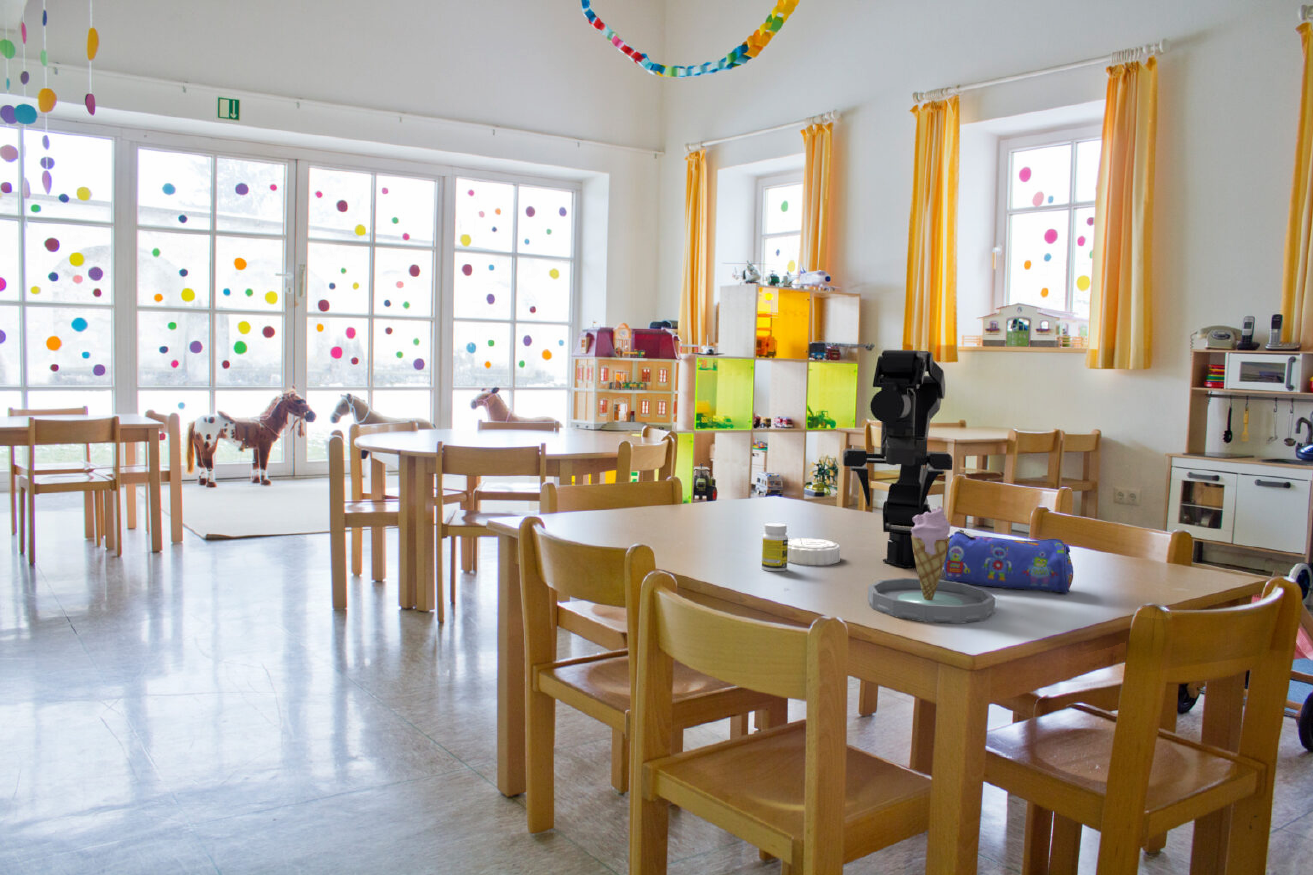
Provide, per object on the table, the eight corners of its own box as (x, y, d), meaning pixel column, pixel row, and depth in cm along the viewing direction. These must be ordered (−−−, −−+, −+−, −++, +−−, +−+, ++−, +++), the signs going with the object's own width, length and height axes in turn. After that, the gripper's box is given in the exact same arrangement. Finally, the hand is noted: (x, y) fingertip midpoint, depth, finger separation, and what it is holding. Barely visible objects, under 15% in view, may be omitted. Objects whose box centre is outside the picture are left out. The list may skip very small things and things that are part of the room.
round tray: (934, 589, 167) (934, 574, 166) (1019, 615, 150) (1020, 600, 149) (844, 598, 158) (845, 583, 158) (924, 628, 141) (924, 611, 141)
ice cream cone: (953, 604, 151) (957, 509, 150) (913, 603, 151) (917, 508, 150) (941, 595, 157) (945, 503, 156) (903, 594, 157) (906, 503, 157)
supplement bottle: (786, 572, 177) (787, 527, 177) (760, 571, 178) (761, 526, 177) (787, 567, 182) (789, 523, 181) (762, 565, 183) (764, 521, 182)
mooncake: (844, 567, 184) (844, 548, 184) (781, 565, 185) (781, 546, 185) (835, 554, 196) (835, 537, 196) (776, 553, 197) (776, 535, 197)
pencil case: (937, 585, 171) (939, 531, 170) (942, 575, 178) (944, 524, 178) (1072, 599, 162) (1075, 543, 161) (1071, 588, 170) (1075, 535, 169)
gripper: (847, 421, 166) (843, 511, 167) (959, 424, 163) (955, 516, 164) (844, 418, 177) (840, 502, 178) (949, 421, 174) (945, 506, 175)
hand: (894, 507), depth 173 cm, fingers open, 9 cm apart
